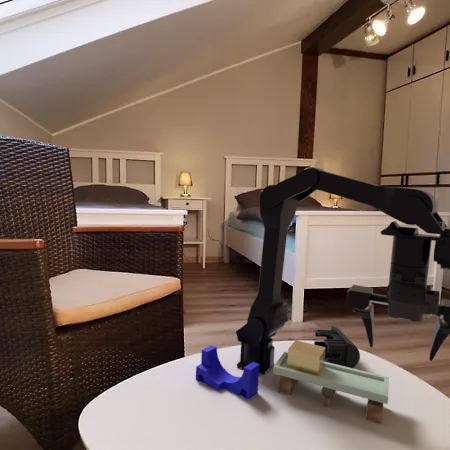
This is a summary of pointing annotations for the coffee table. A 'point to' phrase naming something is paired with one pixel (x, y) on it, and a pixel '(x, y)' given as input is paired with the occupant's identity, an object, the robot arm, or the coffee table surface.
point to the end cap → (338, 348)
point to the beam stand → (373, 406)
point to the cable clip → (227, 375)
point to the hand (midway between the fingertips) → (400, 353)
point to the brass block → (306, 358)
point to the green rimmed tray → (341, 379)
